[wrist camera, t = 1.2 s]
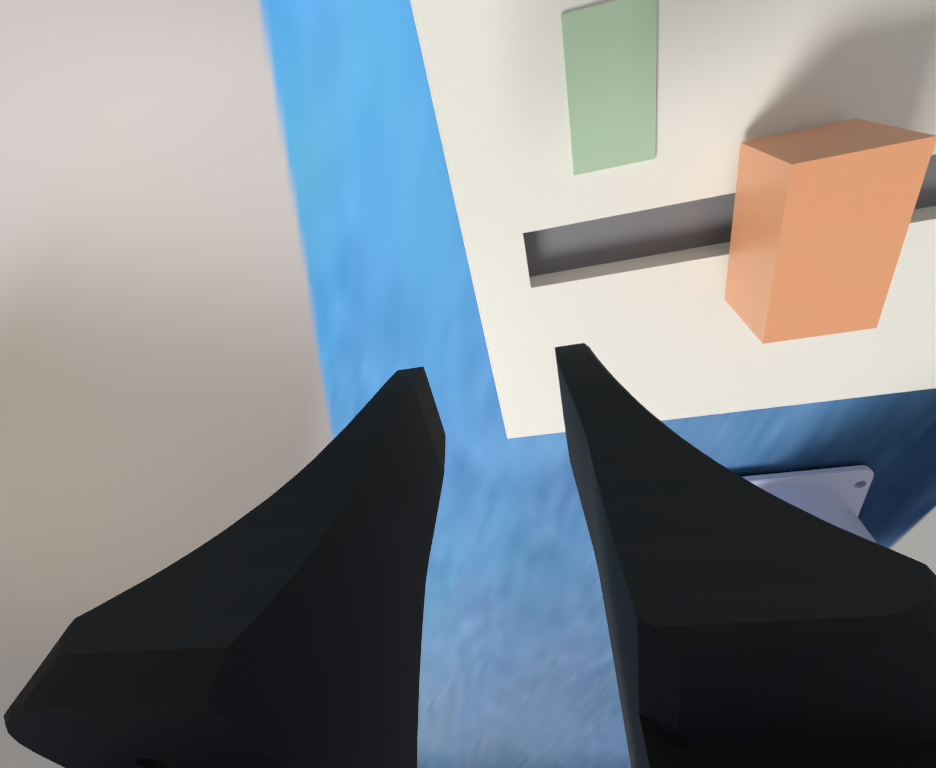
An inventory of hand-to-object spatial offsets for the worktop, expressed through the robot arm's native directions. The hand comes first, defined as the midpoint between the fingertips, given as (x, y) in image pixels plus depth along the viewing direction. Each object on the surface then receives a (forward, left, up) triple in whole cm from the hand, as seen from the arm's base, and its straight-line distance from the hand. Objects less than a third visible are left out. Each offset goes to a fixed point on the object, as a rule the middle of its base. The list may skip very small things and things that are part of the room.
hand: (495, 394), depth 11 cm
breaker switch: (0, -9, -8) cm, 12 cm away
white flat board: (0, -9, -9) cm, 13 cm away
